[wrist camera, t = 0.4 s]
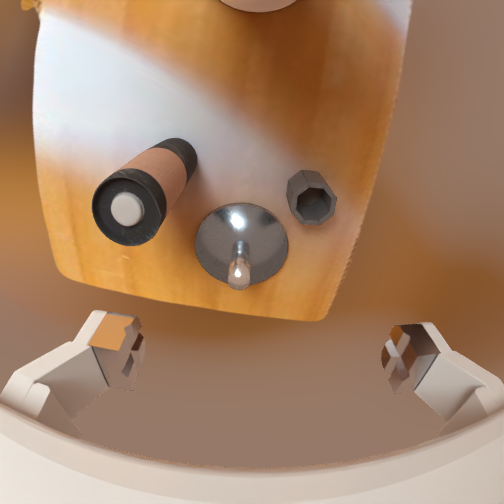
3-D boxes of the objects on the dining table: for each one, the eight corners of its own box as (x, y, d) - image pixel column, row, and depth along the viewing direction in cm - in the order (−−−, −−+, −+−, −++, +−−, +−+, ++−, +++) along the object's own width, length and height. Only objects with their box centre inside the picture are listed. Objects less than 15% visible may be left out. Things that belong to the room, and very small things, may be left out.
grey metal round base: (194, 200, 45) (180, 230, 37) (292, 206, 46) (301, 236, 37) (198, 278, 54) (188, 316, 45) (281, 283, 54) (285, 321, 46)
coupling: (289, 169, 42) (294, 181, 37) (329, 173, 43) (339, 185, 38) (285, 206, 46) (289, 223, 41) (322, 209, 46) (331, 226, 41)
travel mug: (144, 148, 40) (78, 195, 24) (186, 128, 39) (137, 160, 22) (164, 189, 44) (115, 256, 27) (206, 171, 43) (175, 233, 26)
